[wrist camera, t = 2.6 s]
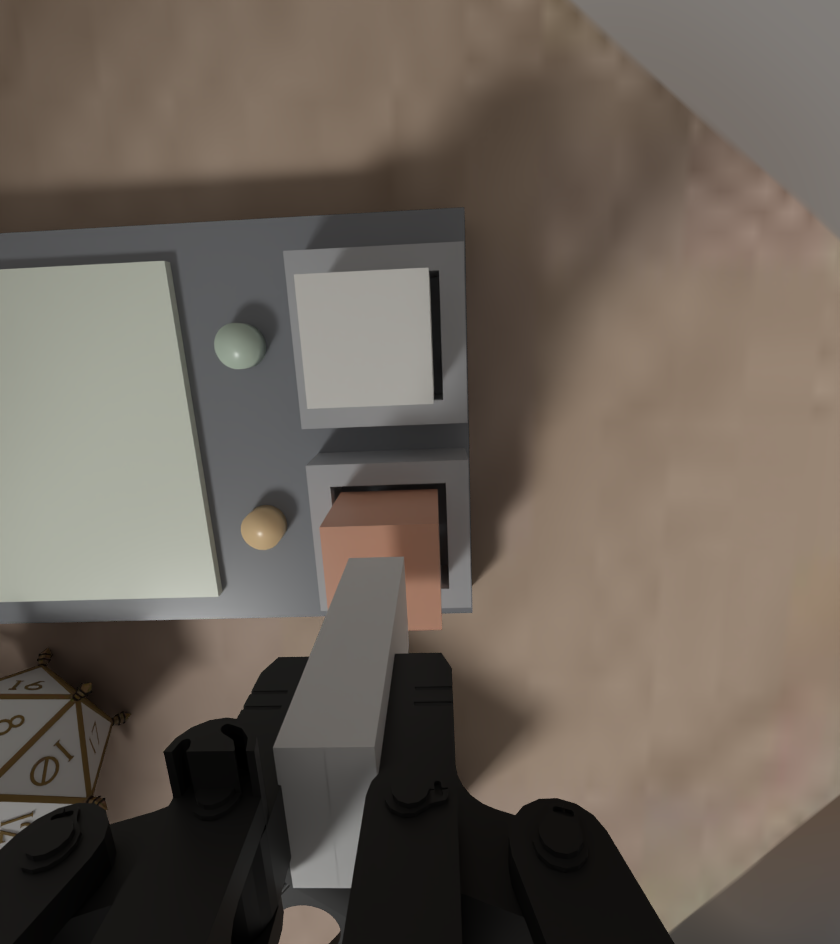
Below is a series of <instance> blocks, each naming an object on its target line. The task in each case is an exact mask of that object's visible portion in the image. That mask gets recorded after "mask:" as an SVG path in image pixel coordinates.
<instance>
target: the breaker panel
mask: <svg viewBox="0 0 840 944" xmlns="http://www.w3.org/2000/svg"><path fill="white" fill-rule="evenodd" d="M409 268H429V277H430V293H431V320H432V348H433V375H434V404H418V405H393V406H368V407H343V408H318V409H307V401H306V391H305V381H304V371H303V361H302V351H301V341H300V332H299V322H298V312H297V302H296V292H295V282H294V274H312V273H331V272H351V271H370V270H390V269H409ZM419 489H438V511H439V538H440V565H441V605H442V613H472V570H471V519H470V469H469V418H468V367H467V317H466V266H465V215H464V207H461V208H443V209H425V210H407V211H389V212H371V213H353V214H336V215H318V216H300V217H282V218H264V219H246V220H228V221H211V222H193V223H175V224H157V225H139V226H121V227H103V228H86V229H68V230H50V231H32V232H14V233H0V624H9V623H52V622H95V621H138V620H181V619H225V618H268V617H311V616H326V614H327V612H328V608H327V598H326V588H325V578H324V568H323V559H322V549H321V539H320V529H319V527H320V525H321V524H322V522H323V520H324V519H325V517H326V516H327V514H328V512H329V511H330V509H331V507H332V506H333V504H334V502H335V501H336V499H337V498H338V496H339V494H340V493H341V492H359V491H389V490H419Z"/></svg>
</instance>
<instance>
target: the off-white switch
mask: <svg viewBox="0 0 840 944" xmlns="http://www.w3.org/2000/svg"><path fill="white" fill-rule="evenodd" d="M294 282H295V292H296V302H297V312H298V322H299V332H300V341H301V351H302V361H303V371H304V381H305V391H306V401H307V409H318V408H343V407H368V406H393V405H418V404H434V375H433V348H432V320H431V293H430V277H429V268H409V269H390V270H370V271H351V272H331V273H312V274H294Z"/></svg>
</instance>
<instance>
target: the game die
mask: <svg viewBox="0 0 840 944" xmlns="http://www.w3.org/2000/svg"><path fill="white" fill-rule="evenodd" d="M51 657H52V654H51V652H50V650H49V647H48V648H47V649H46V650H45V651H44V652H42V653H41V654H39V659H37V661H38V666H36V667H33V668H30V669H27V670H24V671H21V672H18V673H15V674H12V675H9V676H6V677H3V678H0V849H1V848H2V847H3V846H4V845H5V844H7V843H8V842H9V841H10V840H11V839H12V838H13V837H14V836H15V835H16V834H18V833H19V832H20V831H22V830H23V829H24V828H26V827H27V826H28V825H30V824H31V823H32V822H33V821H35V820H36V819H38V818H40V817H42V816H44V815H46V814H48V813H50V812H52V811H54V810H56V809H58V808H61V807H64V806H68V805H72V804H76V803H95V804H96V805H98V806H100V807H101V808H103V809H105V810H108V809H107V806H106V803H105V798H103V799H102V798H100V796H98V797H94V796H93V793H94V790H95V786H96V783H97V779H98V775H99V772H100V768H101V765H102V761H103V757H104V754H105V750H106V747H107V743H108V739H109V736H110V732H111V729H112V726H113V725H115V724H118V725H120V724H121V723H125V721H126V720H127V719H128V717H129V716H130V715H131V714H128V713H124V712H122V713H120V714H117V715H115V717H114V718H111V717H109V716H108V715H107V714H106V713H104V712H103V711H102V710H101V709H99V708H98V707H97V706H96V705H94V704H93V703H92V702H90V701H89V700H88V699H87V698H85V697H86V696H88V694H89V693H91V692H92V690H91V686H92V683H87V684H83V683H81V685H80V687H78V688H77V690H75V689H74V688H73V687H72V686H70V685H69V684H68V683H67V682H65V681H64V680H63V679H62V678H60V677H59V676H58V675H57V674H55V673H54V672H53V671H52V670H50V669H49V668H48V667H47V663H49V662H50V660H51V659H50V658H51Z"/></svg>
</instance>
